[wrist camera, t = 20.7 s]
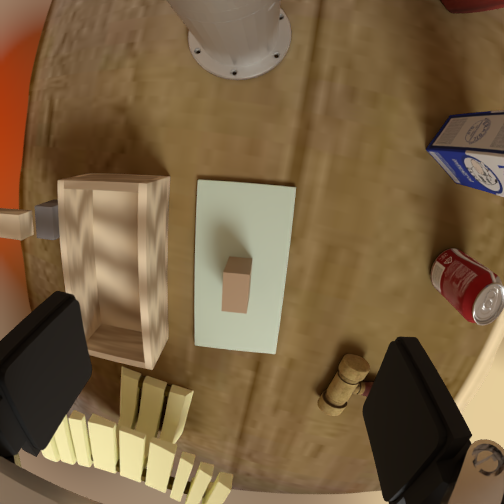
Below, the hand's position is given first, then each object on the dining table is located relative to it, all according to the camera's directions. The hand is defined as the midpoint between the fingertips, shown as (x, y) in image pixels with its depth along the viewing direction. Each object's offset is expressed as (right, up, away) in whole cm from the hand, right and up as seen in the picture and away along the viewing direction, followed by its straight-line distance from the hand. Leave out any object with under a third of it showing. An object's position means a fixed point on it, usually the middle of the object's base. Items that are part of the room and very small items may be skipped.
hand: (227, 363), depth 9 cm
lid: (-1, 0, +35) cm, 35 cm away
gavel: (+23, -19, +40) cm, 50 cm away
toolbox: (-18, +2, +34) cm, 39 cm away
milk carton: (+28, +17, +27) cm, 42 cm away
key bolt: (-30, +7, +23) cm, 39 cm away
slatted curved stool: (-18, -25, +44) cm, 54 cm away
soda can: (+29, +1, +32) cm, 44 cm away
